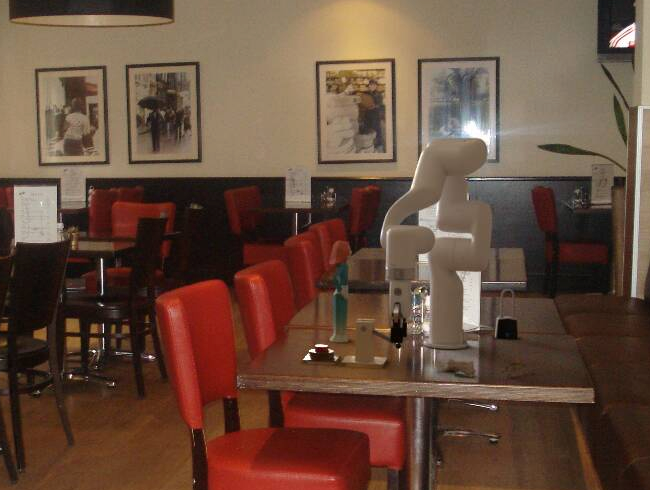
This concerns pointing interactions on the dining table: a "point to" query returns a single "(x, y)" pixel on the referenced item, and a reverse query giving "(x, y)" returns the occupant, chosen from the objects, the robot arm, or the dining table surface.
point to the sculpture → (340, 290)
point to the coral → (457, 367)
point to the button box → (321, 356)
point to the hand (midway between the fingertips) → (398, 339)
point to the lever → (386, 338)
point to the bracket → (364, 345)
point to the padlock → (507, 322)
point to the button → (321, 348)
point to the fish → (517, 368)
